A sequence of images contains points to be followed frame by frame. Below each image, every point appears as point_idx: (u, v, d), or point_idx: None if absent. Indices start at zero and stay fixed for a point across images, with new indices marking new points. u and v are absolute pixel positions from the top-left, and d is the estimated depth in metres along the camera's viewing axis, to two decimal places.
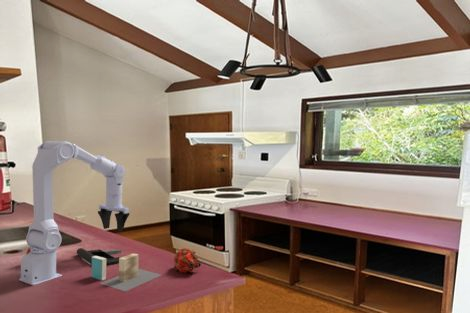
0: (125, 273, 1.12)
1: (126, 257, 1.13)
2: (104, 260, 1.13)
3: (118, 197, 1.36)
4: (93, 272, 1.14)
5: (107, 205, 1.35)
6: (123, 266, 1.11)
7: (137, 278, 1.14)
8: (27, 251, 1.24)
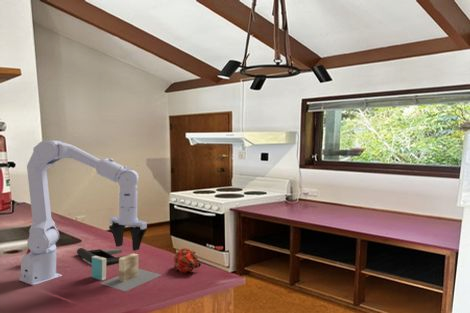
0: (125, 273, 1.12)
1: (126, 257, 1.13)
2: (104, 260, 1.13)
3: (133, 209, 1.15)
4: (93, 272, 1.14)
5: (121, 219, 1.14)
6: (123, 266, 1.11)
7: (137, 278, 1.14)
8: (27, 251, 1.24)
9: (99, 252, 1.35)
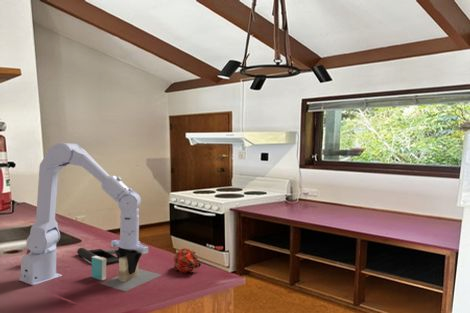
0: (125, 273, 1.12)
1: (126, 257, 1.13)
2: (104, 260, 1.13)
3: (135, 233, 1.13)
4: (93, 272, 1.14)
5: (122, 243, 1.12)
6: (123, 266, 1.11)
7: (137, 278, 1.14)
8: (27, 251, 1.24)
9: (100, 252, 1.36)
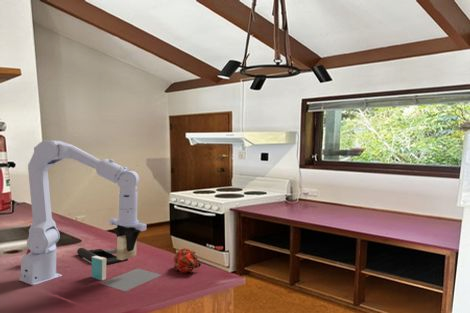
0: (123, 251, 1.12)
1: (124, 236, 1.14)
2: (104, 260, 1.13)
3: (133, 211, 1.13)
4: (93, 272, 1.14)
5: (120, 221, 1.13)
6: (121, 245, 1.12)
7: (137, 278, 1.14)
8: (27, 251, 1.24)
9: (100, 252, 1.36)
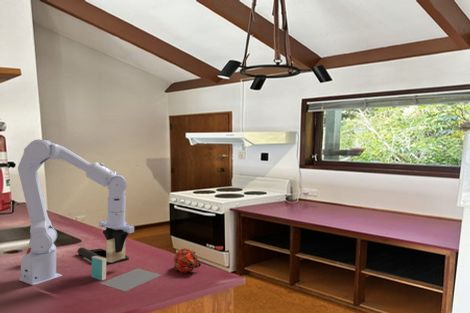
0: (112, 254, 1.17)
1: (113, 239, 1.19)
2: (104, 260, 1.13)
3: (121, 214, 1.18)
4: (93, 272, 1.14)
5: (109, 223, 1.17)
6: (111, 248, 1.17)
7: (137, 278, 1.14)
8: (27, 251, 1.24)
9: (100, 251, 1.36)
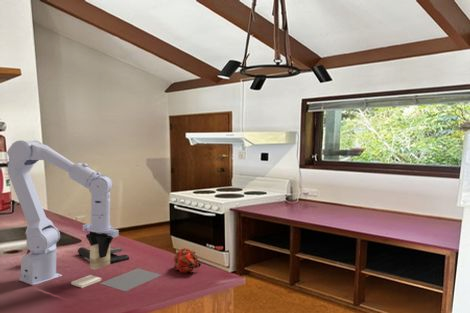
0: (96, 260, 1.12)
1: (97, 245, 1.13)
2: None
3: (105, 217, 1.12)
4: None
5: (92, 227, 1.12)
6: (94, 254, 1.11)
7: (137, 278, 1.14)
8: (27, 251, 1.24)
9: None
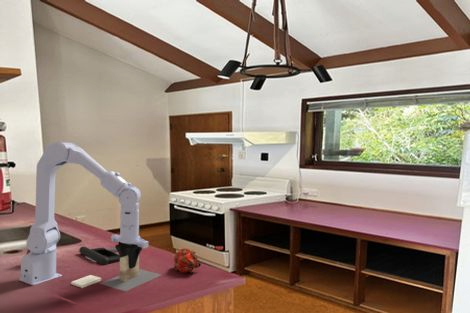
0: (126, 272, 1.12)
1: (127, 257, 1.14)
2: None
3: (135, 228, 1.12)
4: None
5: (122, 238, 1.12)
6: (124, 266, 1.12)
7: (137, 278, 1.14)
8: (27, 251, 1.24)
9: (102, 250, 1.38)
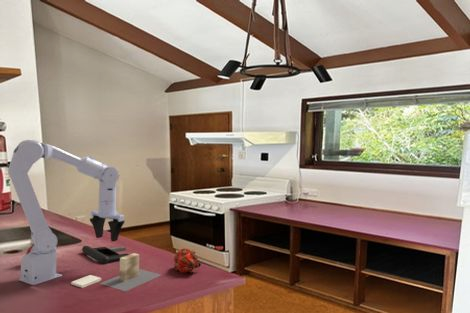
0: (126, 272, 1.12)
1: (127, 257, 1.14)
2: None
3: (112, 203, 1.23)
4: None
5: (100, 212, 1.23)
6: (124, 266, 1.12)
7: (137, 278, 1.14)
8: (27, 251, 1.24)
9: (104, 249, 1.39)
